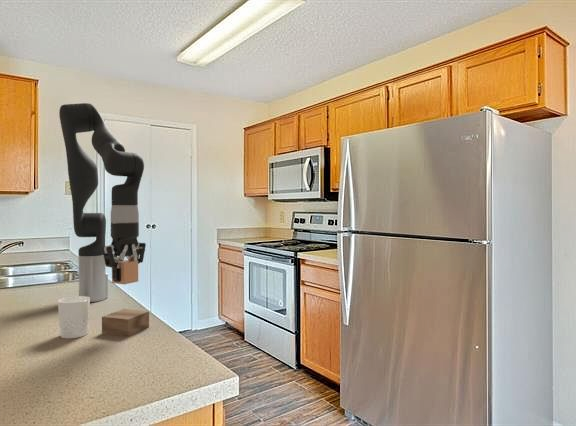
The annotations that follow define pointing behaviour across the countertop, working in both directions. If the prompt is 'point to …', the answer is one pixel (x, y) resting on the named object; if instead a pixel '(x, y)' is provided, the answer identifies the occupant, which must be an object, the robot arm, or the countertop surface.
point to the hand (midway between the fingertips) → (125, 279)
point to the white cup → (74, 316)
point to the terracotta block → (128, 272)
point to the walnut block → (125, 322)
